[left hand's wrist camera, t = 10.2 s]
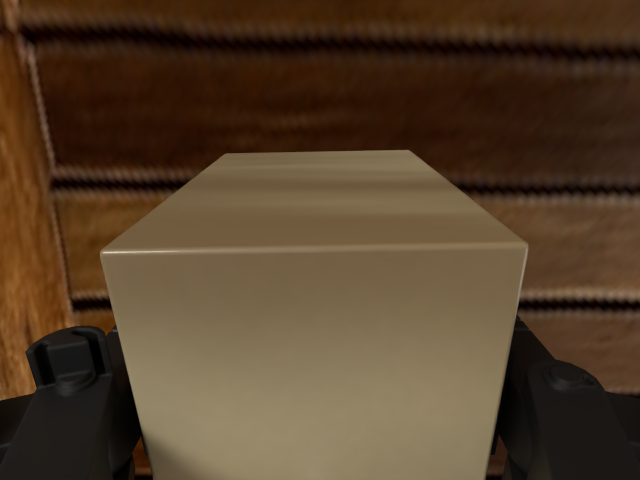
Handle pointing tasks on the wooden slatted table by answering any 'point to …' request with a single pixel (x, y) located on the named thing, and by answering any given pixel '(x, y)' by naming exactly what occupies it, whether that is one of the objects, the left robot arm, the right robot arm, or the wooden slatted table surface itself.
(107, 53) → the wooden slatted table surface
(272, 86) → the wooden slatted table surface
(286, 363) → the birch beam
